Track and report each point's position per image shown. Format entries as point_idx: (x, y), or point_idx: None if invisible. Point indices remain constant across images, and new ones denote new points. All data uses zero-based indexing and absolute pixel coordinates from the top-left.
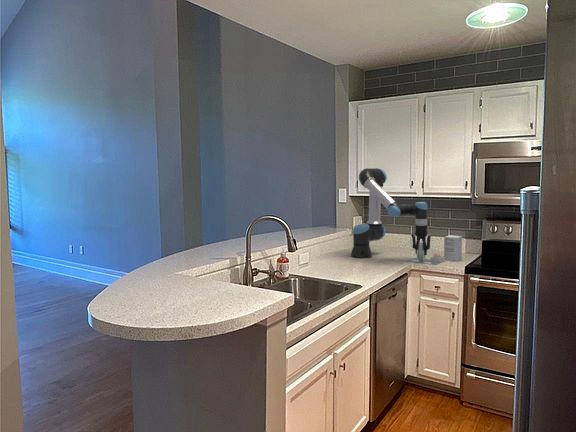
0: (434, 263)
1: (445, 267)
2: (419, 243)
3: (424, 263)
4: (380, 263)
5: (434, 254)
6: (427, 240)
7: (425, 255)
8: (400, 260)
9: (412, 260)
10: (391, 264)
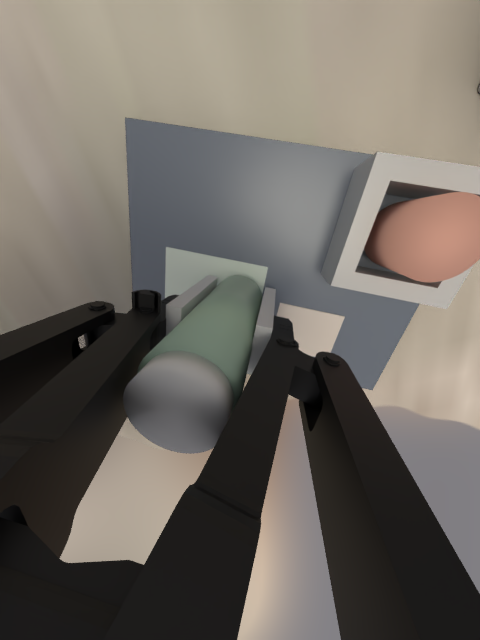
0: (360, 338)
1: (443, 409)
2: (147, 427)
3: None
4: None
5: (388, 257)
6: (355, 627)
7: (274, 302)
8: (87, 278)
9: (170, 287)
10: None
